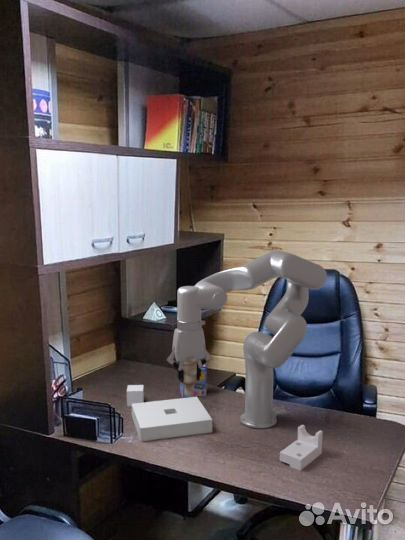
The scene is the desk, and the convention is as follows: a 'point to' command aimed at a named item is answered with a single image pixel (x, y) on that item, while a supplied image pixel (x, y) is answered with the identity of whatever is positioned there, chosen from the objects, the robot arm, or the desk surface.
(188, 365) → the beech leg
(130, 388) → the white cube
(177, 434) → the socket block
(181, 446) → the desk surface
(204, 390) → the ink cartridge box
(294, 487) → the desk surface
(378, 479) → the desk surface
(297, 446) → the bracket
